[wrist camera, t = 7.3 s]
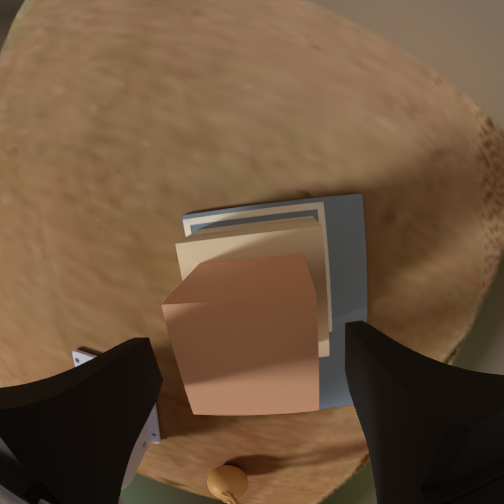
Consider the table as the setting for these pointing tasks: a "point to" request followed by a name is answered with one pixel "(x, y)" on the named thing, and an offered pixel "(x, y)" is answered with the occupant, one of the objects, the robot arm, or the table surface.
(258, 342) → the terracotta cube
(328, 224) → the mat
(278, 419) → the table surface
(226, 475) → the figurine
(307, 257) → the maple base block
